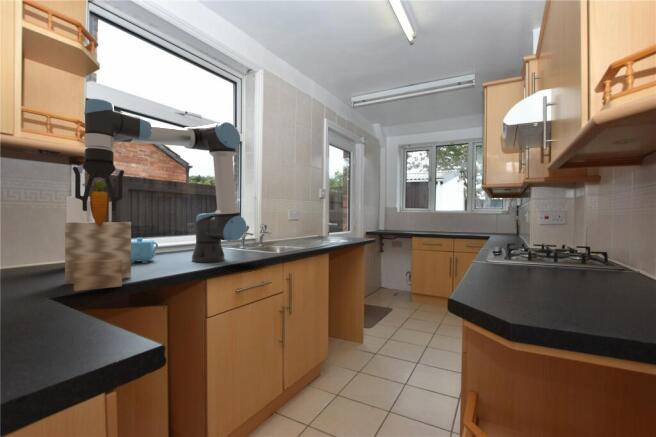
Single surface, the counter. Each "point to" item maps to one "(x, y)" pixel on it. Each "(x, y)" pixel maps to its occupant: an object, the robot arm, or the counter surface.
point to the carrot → (99, 203)
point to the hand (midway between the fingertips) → (99, 221)
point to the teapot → (142, 250)
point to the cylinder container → (77, 210)
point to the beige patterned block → (97, 254)
